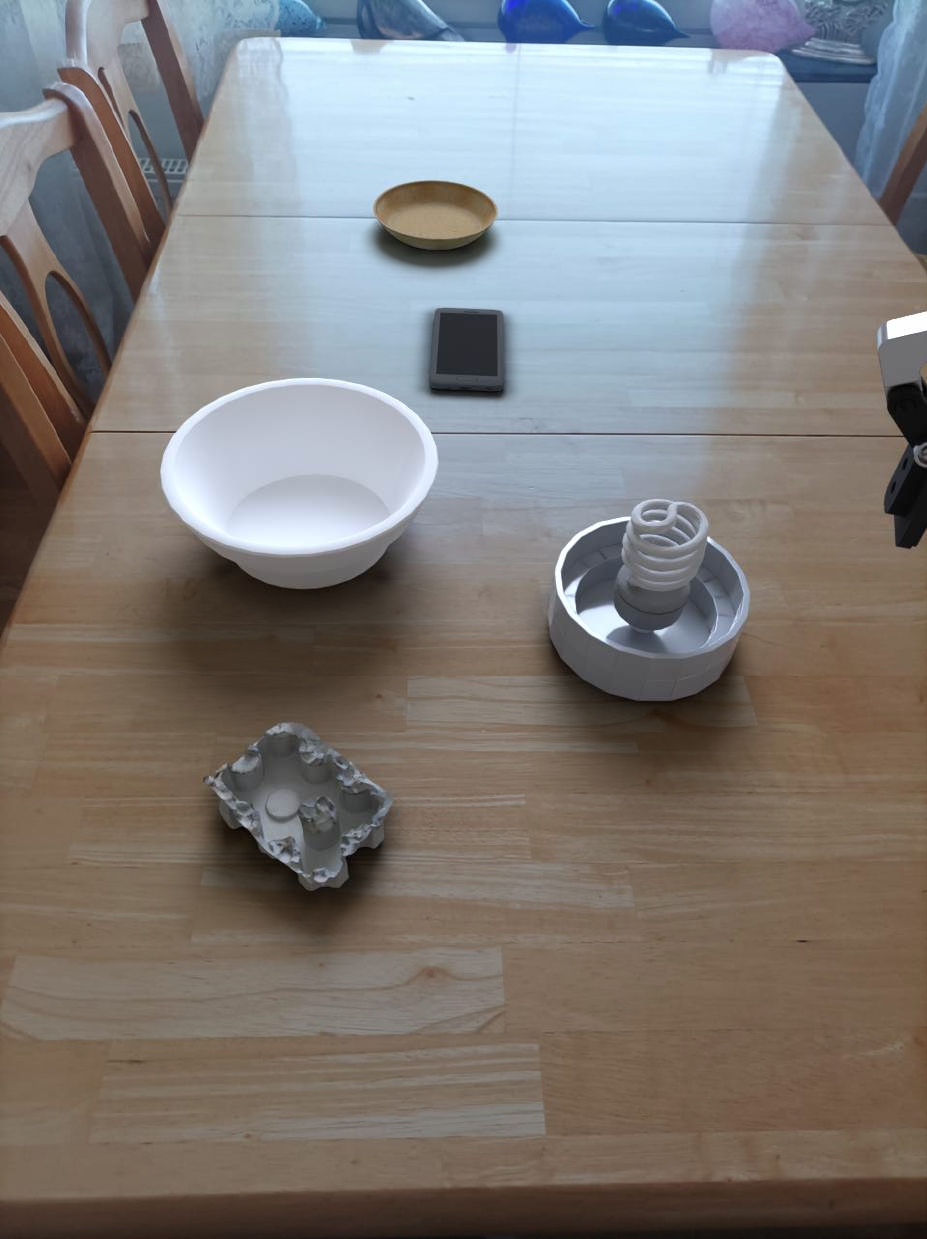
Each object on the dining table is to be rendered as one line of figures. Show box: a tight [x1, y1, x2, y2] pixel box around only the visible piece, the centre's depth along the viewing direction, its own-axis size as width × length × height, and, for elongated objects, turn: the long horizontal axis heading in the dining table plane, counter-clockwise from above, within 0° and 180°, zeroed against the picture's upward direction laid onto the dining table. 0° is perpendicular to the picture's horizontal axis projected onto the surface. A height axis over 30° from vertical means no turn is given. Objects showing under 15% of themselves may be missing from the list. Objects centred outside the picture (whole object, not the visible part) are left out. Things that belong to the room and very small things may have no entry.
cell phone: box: [429, 307, 506, 392], centre depth 95 cm, size 7×14×1 cm, turn 179°
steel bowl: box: [547, 516, 752, 702], centre depth 70 cm, size 14×14×6 cm
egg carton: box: [202, 721, 395, 892], centre depth 59 cm, size 11×8×4 cm
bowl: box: [159, 377, 440, 590], centre depth 74 cm, size 21×21×8 cm
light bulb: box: [614, 498, 711, 633], centre depth 67 cm, size 6×6×12 cm
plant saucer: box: [372, 179, 499, 251], centre depth 112 cm, size 15×15×3 cm
